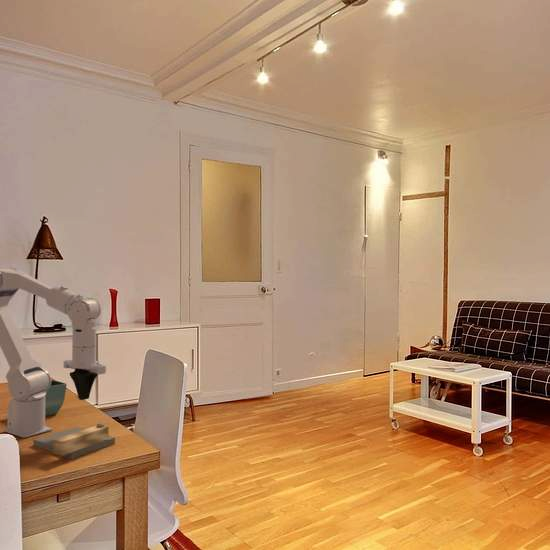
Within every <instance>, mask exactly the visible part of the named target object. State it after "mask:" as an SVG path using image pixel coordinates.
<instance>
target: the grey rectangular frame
mask: <svg viewBox="0 0 550 550" xmlns="http://www.w3.org/2000/svg"><path fill="white" fill-rule="evenodd" d="M82 430H85V428H81V427H79V426H75V427H71V428H68V429H63V430H62V431H57V432H54V433H51V434H47V435H43V436H41V437H37V438H33V439H32V442H33V443H32V445H33V447H37V448H39V449H42V450H45V451H47V452H51V453H53V440H54V439H57V438H60V437H63V436H66V435H69V434H72V433H75V432H79V431H82ZM115 444H116V438H115V437H113V436H110V435H108V439H107V440H104V441H101V442H99V443H96V444H93V445H90V446H88V447H85V448H82V449H79V450H77V451H74V452H71V453H68V454H65V455H63V457H65V458H69V459H71V460H72V459H74V458H79V457H81V456H84V455H86V454H89V453H90V454H91V453H93V452H95V451H98V450H101V449H103V448H107V447H109V446H113V445H115Z"/></svg>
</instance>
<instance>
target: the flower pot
mask: <svg viewBox="0 0 550 550" xmlns="http://www.w3.org/2000/svg"><path fill="white" fill-rule="evenodd" d="M67 385H68V384H67V383H66V382H63V381H59V380H55V379H51V386H50V388H49V389H48V390H47V391H46V395H45V417H46V416H50V415H57V414H58V413H59V411H60V410H61V408H62V407H63V404H64V402H65V398H66V397H65V396H66V391H67Z"/></svg>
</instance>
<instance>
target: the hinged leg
mask: <svg viewBox="0 0 550 550" xmlns="http://www.w3.org/2000/svg"><path fill="white" fill-rule="evenodd" d="M109 427H110V426H107V425H106V424H105V423H104V422H99V423H97V424H96V425H94V426H91V427H88V428H86V429H85V428H84V429H85V430H82V431H79V432H75V433H72V434H69V435H66V436H63V437H60V438H57V439H54V440H53V452H52V453H53V454H55V455H59V456H63V455H65V454H68V453H71V452H74V451H77V450H79V449H82V448H85V447H88V446H90V445H93V444H96V443H99V442H101V441H104V440H107V439H108V436H109ZM63 457H64V456H63Z"/></svg>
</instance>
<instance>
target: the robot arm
mask: <svg viewBox="0 0 550 550" xmlns="http://www.w3.org/2000/svg"><path fill="white" fill-rule="evenodd" d="M19 290H22V291H25V292H27V293H30V294H32V295H35V296H37V297H39V298H41V299H44V300H45V302H46V305H47V306H48V307H50V308H52V309H54V310H56V311H59V312H61V313H62V314H64V315H66V316H68V318H69V320H70V321H71V328H72V338H71V339H72V340H71V342H72V344H71V345H72V351H71V353H72V354H71V359H67V360H66V359H65V360H63V369H72V370H73V371H71V372H69V376H70V378H71V379H72V382H73V385H74V387H75V389H76V394H77V398H78V400H81V401H86V400H89V398H90V395H91V391H92V388H93V385H94V382H95V380H96V378H97V376H98V375H99V376H100V375H104V374H107V373H106V372H107V367H106V365H105V364H102V363H100V361H99V360H97V319H98V318H99V317H100V314H101V305H100V303H99V302H98V301H97V300H95V299H94V298H92V297H88V298H87V297H86V298H85V297H84V294H81V293H78V294H77V293H75V292H73V291H71V290H69V287H68V286H66V285H61V286H60V285H57V286H53V287H52V286H50V285H48V284H46V283H44V282H42V281H40V280H38V279H37V278H34V277H33V276H31V275H29V274H27V273H26V272H25V271H23V270H19V269H17V268H16V267H15V268H13V267H8V268H0V349H1V351H2V354H3V355H4V357H5V359H6V362H7V364H8V366H9V369H8V371H7V373H6V375H5V379H6V380H7V389H8V393H9V394H10V396H11V397H12V399H10V401H9V402H8V405H7V428H4V430H3V431H4V432H6V433H9V434H11V435H15V436H17V437H20V438H24V439H25V438H29V437H33V436H37V435H40V434H44V433H46V432H50V431H52V430H53V428H52V427H49V426H46V416H45V395H46V391H47V390H48V389H49V388H50V386H51V380H52V377H51V374H50V373H49V372H48V371H47V370H46V369H45V368H44V367H43V365H42V363H41V362H39V361H38V360H36V359H34V358H33V357H32V356H31V354H30V351H29V348H28V347H27V345H26V342H25V341H24V338H23V337H22V335H21V333H20V330H19V328H18V326H17V324H16V322H15V320H14V318H13V315H12V313H11V312H10V309H9V308H8V304H9V303H10V302H11V301H12V299H13V298H14V296H15V295H16V294H17V293H18V291H19Z"/></svg>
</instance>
